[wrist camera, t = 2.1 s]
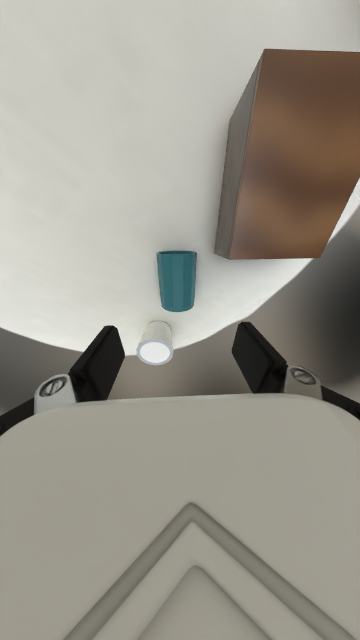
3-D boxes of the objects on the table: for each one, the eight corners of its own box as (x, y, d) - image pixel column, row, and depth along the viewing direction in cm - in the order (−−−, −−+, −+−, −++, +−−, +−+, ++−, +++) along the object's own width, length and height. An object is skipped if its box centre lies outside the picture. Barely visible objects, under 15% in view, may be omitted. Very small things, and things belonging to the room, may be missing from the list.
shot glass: (178, 335, 32) (179, 358, 26) (153, 346, 33) (149, 369, 27) (164, 313, 29) (161, 333, 23) (137, 325, 30) (128, 348, 24)
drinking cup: (158, 251, 22) (154, 255, 17) (194, 250, 23) (199, 254, 18) (162, 298, 27) (160, 312, 22) (192, 297, 27) (196, 311, 22)
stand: (229, 119, 16) (264, 47, 10) (329, 121, 16) (421, 53, 10) (214, 253, 23) (228, 259, 17) (282, 252, 23) (320, 258, 17)
